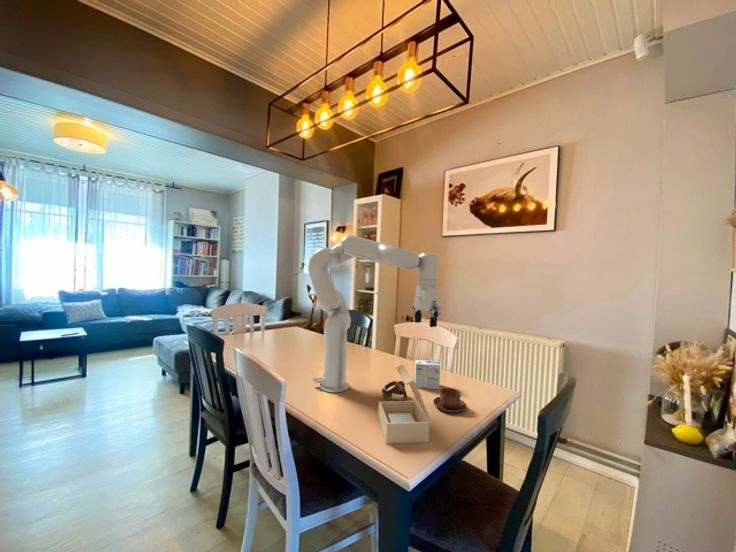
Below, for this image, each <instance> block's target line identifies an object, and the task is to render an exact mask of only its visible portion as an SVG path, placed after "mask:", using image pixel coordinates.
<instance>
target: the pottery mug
mask: <svg viewBox="0 0 736 552" xmlns="http://www.w3.org/2000/svg"><path fill="white" fill-rule="evenodd" d="M391 387H392V388H391ZM389 388H390V389H389ZM381 392H382V398H384V399H388V398H390V399H393V395H397V396H398V395H399V396H403V401H409V396H408V394H407V391H406V383H405V382H404V380H399V381H397V380H392V381H391V382H390V381H389V382H388V383H386V385H384V387H383V388H382V389H381Z"/></svg>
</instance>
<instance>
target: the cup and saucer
mask: <svg viewBox="0 0 736 552" xmlns="http://www.w3.org/2000/svg"><path fill="white" fill-rule="evenodd" d="M439 390H440V391H439V396H437V397H436V398H435V397H434V399H433V404H434V405H435V407H436V408H438V409H440V411H443V412H446V413H447V412H448V413H460V412H463V411H464V410H466V408H467V404H466V402H465V401H463V400H462V399H461V392H460V390H457V389H454V388H452V387H451V388H450V387H444V388H441V389H439Z"/></svg>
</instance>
